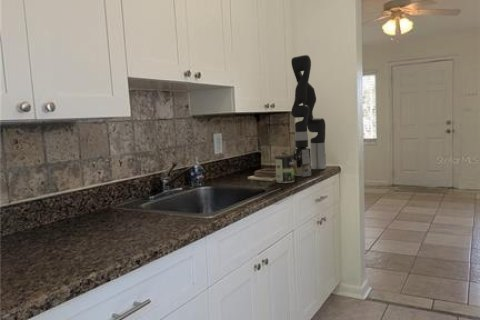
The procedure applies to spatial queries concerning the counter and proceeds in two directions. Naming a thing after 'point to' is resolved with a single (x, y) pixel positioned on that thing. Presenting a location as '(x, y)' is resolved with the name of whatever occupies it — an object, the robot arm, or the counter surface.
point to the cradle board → (264, 175)
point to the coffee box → (303, 163)
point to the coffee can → (285, 169)
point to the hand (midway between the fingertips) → (302, 166)
